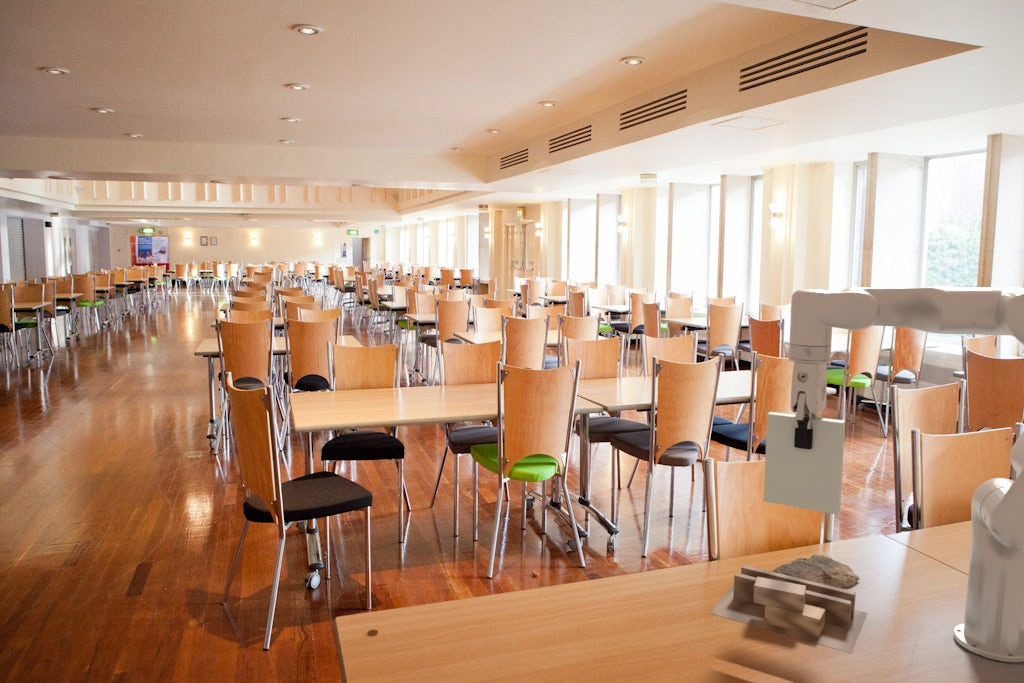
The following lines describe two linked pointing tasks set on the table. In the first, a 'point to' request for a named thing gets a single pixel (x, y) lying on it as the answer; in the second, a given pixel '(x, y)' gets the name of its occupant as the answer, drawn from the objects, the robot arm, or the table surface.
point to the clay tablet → (820, 571)
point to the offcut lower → (797, 619)
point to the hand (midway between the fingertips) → (804, 445)
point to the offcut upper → (779, 594)
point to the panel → (804, 464)
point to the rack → (837, 602)
